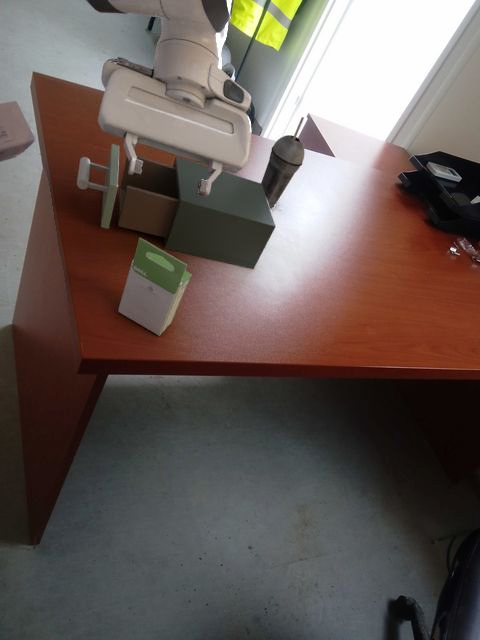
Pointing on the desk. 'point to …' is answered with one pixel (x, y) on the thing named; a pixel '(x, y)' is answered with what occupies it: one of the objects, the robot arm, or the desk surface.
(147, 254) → the ink box
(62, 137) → the desk surface
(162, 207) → the drawer
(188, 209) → the cabinet
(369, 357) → the desk surface
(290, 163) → the beverage cup
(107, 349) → the desk surface
